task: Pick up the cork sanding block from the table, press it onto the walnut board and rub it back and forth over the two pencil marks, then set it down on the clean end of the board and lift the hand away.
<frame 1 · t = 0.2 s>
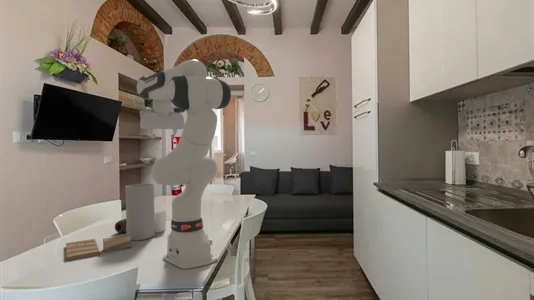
hand: (163, 138, 146), 47 cm above the table, tool pointing down, fingers open, 8 cm apart
sanding block: (117, 249, 129), on the table
brown wooden tube: (130, 230, 159), on the table
white cup: (158, 230, 157), on the table
board: (82, 250, 127), on the table
cylinder vase: (141, 237, 146), on the table
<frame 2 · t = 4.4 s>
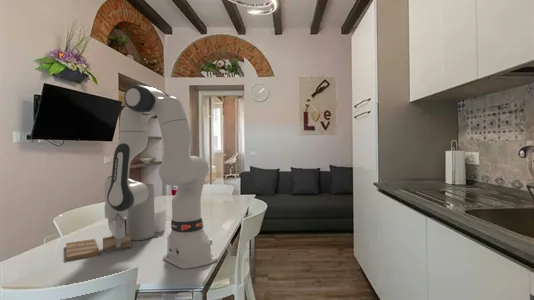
hand: (117, 244, 129), 2 cm above the table, tool pointing down, fingers open, 5 cm apart
nothing on the table moved.
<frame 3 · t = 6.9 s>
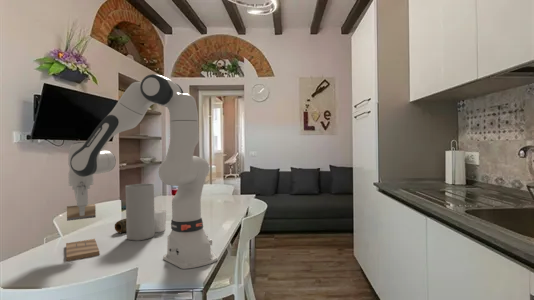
hand: (81, 214, 126), 16 cm above the table, tool pointing down, fingers closed on sanding block, 5 cm apart
sanding block: (81, 217, 126), point 14 cm above the table, touching gripper
everything else where it was.
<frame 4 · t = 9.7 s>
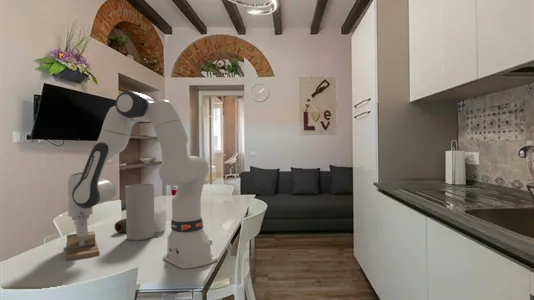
hand: (81, 243, 128), 3 cm above the table, tool pointing down, fingers closed on sanding block, 5 cm apart
sanding block: (81, 246, 128), point 2 cm above the table, touching gripper
everything else where it was.
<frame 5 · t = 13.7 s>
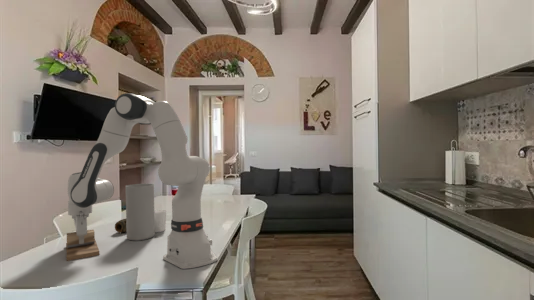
hand: (81, 241, 130), 3 cm above the table, tool pointing down, fingers closed on sanding block, 5 cm apart
sanding block: (80, 244, 130), point 2 cm above the table, touching gripper
everything else where it was.
when the fingers open (3 cm above the table, at t = 17.7 s): sanding block stays where it is, resting on board.
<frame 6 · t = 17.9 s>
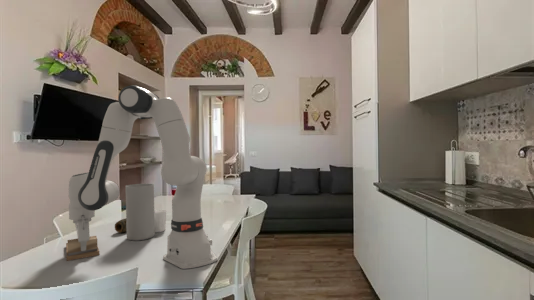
hand: (82, 247, 122), 3 cm above the table, tool pointing down, fingers open, 6 cm apart
sanding block: (82, 251, 122), point 1 cm above the table, touching board
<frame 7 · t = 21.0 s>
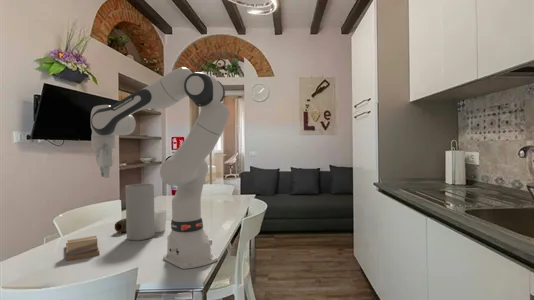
hand: (105, 177, 127), 31 cm above the table, tool pointing down, fingers open, 8 cm apart
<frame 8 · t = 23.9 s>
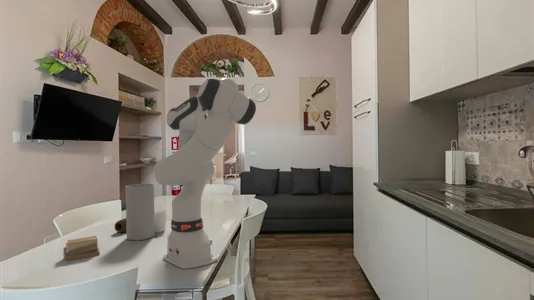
hand: (188, 164, 152), 34 cm above the table, tool pointing down, fingers open, 8 cm apart
at the end: sanding block 0.5 cm from the target spot on the board, point 1.5 cm above the board's base; sanding block tilted 0°; the gripper is holding nothing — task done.
